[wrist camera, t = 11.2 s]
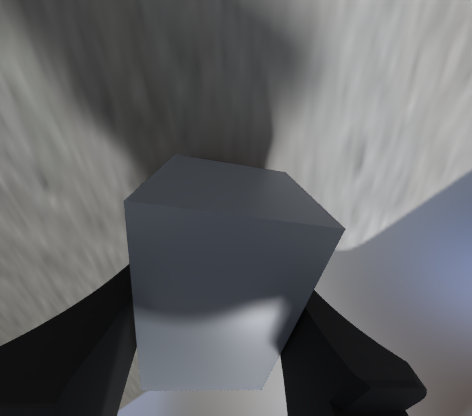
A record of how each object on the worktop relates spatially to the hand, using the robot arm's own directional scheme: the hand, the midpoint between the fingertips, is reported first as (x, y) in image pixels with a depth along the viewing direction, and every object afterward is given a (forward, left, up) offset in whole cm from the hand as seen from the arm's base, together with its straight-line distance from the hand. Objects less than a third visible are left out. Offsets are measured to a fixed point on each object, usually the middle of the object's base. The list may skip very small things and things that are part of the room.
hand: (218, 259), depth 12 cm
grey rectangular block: (0, 0, -2) cm, 2 cm away
